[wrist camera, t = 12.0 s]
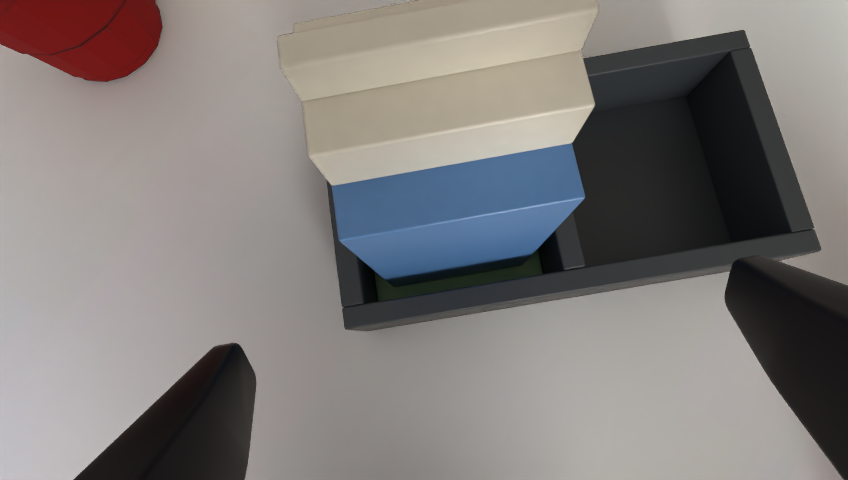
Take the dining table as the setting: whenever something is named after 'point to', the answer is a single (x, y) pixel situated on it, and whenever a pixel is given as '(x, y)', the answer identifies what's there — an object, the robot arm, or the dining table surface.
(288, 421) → the dining table surface
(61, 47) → the plastic cup
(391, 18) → the carton
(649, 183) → the caddy
